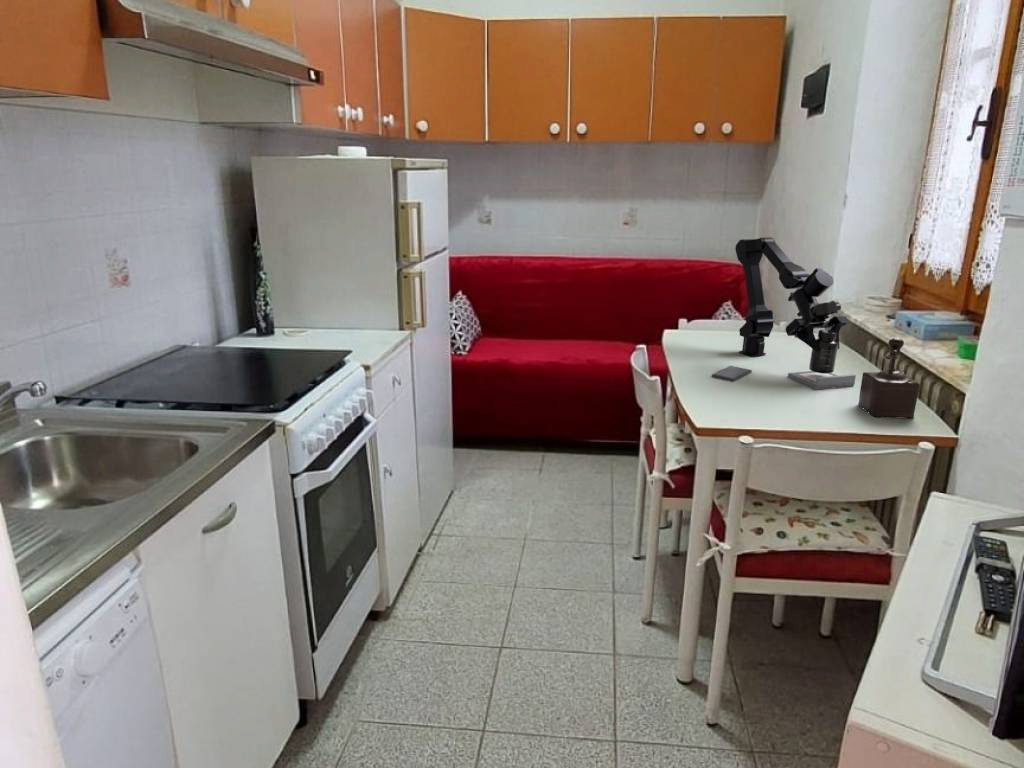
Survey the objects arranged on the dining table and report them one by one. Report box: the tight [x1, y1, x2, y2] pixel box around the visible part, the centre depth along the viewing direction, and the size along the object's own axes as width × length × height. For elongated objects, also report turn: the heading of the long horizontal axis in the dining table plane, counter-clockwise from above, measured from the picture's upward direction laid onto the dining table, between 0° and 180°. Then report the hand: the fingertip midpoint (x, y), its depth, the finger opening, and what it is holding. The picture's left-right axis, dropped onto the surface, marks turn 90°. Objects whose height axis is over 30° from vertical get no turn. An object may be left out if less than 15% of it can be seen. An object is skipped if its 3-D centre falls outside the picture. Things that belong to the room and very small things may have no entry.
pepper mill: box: [858, 337, 920, 419], centre depth 185 cm, size 16×11×18 cm
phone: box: [711, 365, 753, 382], centre depth 216 cm, size 7×13×1 cm, turn 139°
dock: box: [787, 370, 857, 390], centre depth 210 cm, size 13×13×3 cm
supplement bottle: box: [809, 329, 839, 374], centre depth 208 cm, size 7×7×12 cm
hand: (828, 350), depth 207 cm, fingers closed on supplement bottle, 7 cm apart
